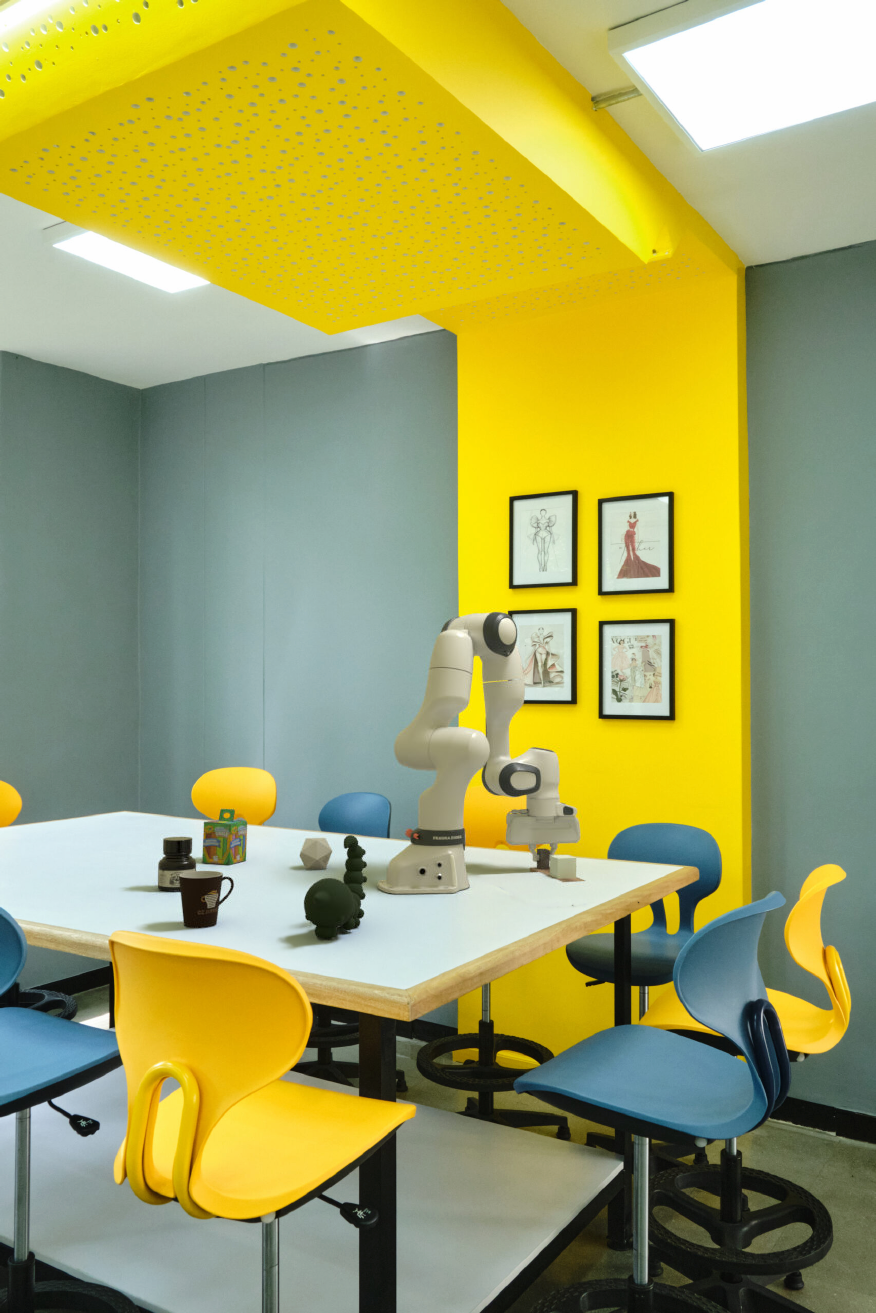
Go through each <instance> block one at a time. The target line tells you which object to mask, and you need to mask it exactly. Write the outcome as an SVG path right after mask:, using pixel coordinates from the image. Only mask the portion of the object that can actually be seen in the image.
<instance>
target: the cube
mask: <svg viewBox="0 0 876 1313" xmlns="http://www.w3.org/2000/svg"><path fill="white" fill-rule="evenodd" d="M550 876H553V877H555V878H557V879H563V878H576V877H577V857H575V856H572V855H570V854H559V855H556V854H554V855H553V856H550ZM550 876H549V877H550ZM555 878H554V879H555ZM557 879H556V880H557Z"/></svg>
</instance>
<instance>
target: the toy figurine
mask: <svg viewBox="0 0 876 1313" xmlns="http://www.w3.org/2000/svg"><path fill="white" fill-rule="evenodd" d="M343 849H345V850H347V851H346V856H347V858H346V860H345V862H344V866H345V872H344V874H343V877H342V881H341V880H339V879H337V878H335V877H334V878H332V877H325V878H322V879H319V880H317V881H316V882H314V883H313V884H311V886H310V887H309V889H308V890H307V892H306V893H305V896H304V900H303V908H304V909H303V910H304V914H305V915H304V918H305V920H306V921H308V922H310V923H311V924H312V925H314V926H315V927H314V931H313V932H314V935H315V936H316V937H317V938H319V939H321V940H333V939H334V938H335V937H336V935H337V933H338V929H337V928H340V927H342V929H344V930H345V931H346V932H349V931H352V930H353V929H354V928H356V929H357V928H358V927H360V926H361V919H362V918H364V916H365V910H364V909H363V908H362V901H363V900H365V898H366V895H367V894H366V893H365V892H364V888H363V886H362V885H363V884H365V883H366V882H368V878H367V876H366V875H364V873H363V872H362V871H363V870H364V869H366V868H367V866H368V864H367V862H366V861H365V860H364V859H363V858H364V856H365V855H366V854H367V851H366V850H365V849H364V848H363V847H362V846H361V845H359V840H358V839H357V837H356V836H354V835H351V834H350V835H346V837H345V838H344V839H343Z"/></svg>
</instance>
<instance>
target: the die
mask: <svg viewBox="0 0 876 1313" xmlns="http://www.w3.org/2000/svg"><path fill="white" fill-rule="evenodd" d="M332 854H333V849H332V847H331V846H330V844H329V842H328V840H327V838H326V837H307V838H305V839H304V841H303V845H302V848H301V850H300V853H299V858H300V860H301V861H302V864H303V866H304V868H305V870H326V869H327V866H328V864H329V861H330V858H331V855H332Z"/></svg>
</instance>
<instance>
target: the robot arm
mask: <svg viewBox="0 0 876 1313" xmlns="http://www.w3.org/2000/svg"><path fill="white" fill-rule="evenodd" d="M517 640H518V628H517V624H516V622H515V621H514V619H513V618H512V616H510V615H509V614H508V613H505V612H500V611H493V612H485V613H484V612H483V613H477V612H476V613H471V614H466V615H462V616H455V617H453V618H450V619H449V620H447V621H446V622H444V624H443V626H442V628H441V631H440V633H439V634H438V636H437V637H436V640H435V643H434V645H433V649H432V653H431V656H430V661H429V668H428V675H427V679H426V680H427V681H426V687H425V692H424V697H423V702H422V703H421V706H420V709H419V710H418V712H417V714H416V715H415V717H414V718H413V720H412V721H411V722H410V723H409V724H408V725H407V726H406V727H405V728H403V729H402V730H401V731H400V732H399V733H398V734H397V736H396V737H395V741H394V744H393V745H394V746H393V750H394V756H395V759H396V761H397V762H398V763H399V764H400V765H401V766H402V767H405V768H406V767H407V768H408V769H412V770H416V771H426V772H427V771H428V772H429V771H430V772H436V777H435V780H434V783H433V784H432V786H429V787H428V788H426V789H425V790H423V792H422V793H420V794H419V798H418V822H417V823H418V827H417V828H415V829H411V828H407V829H406V830H405V832H404V835H405V836H406V837H407V838H409V839H410V840H409V841H410V844H409V845H407V846H406V847H405V848H404V849H403V850H401V851H400V852H398V854H396V855H395V856H394V857H392V859H390V861H389V863H388V867H387V870H386V877H385V878H386V879H381V880H378V881H377V888H378V890H380V891H382V892H385V893H389V894H395V895H396V894H397V895H398V894H399V895H400V894H401V895H402V894H405V895H406V894H452V893H453V894H454V893H457V892H459V891H461V890H466V889H467V888H469V887H470V886H471V885H470V882H469V877H468V873H467V867H466V858H465V851H466V850H465V849H466V829H465V827H464V808H465V797H466V793H467V790H468V788H469V784H470V783H471V781H472V779H473V778H474V776H475V775H476V774H477V773H478V772H479V771H481V769H482V771H481V783H482V785H483V787H484V789H485V790H486V791H487V792H488V793H490V794H492V795H493V796H499V797H500V796H501V797H509V798H519V797H522V796H525V797H526V798H525V800H526V807H525V809H524V808H521V809H516V808H515V809H511V810H510V811H509V812H507V814H506V817H505V818H506V820H505V821H506V832H505V841H506V843H507V844H508V845H510V846H525V845H526V846H528V850H529V851H530V853H531V855H532V861H533V862H535V863H537V862H538V861H540V855H539V854H537V845H549V847H550V849H549V856H553V855H555V853H556V851H557V850H558V844H577V843H578V842H579V841H580V840H581V827H580V820H579V818H578V817H577V816H576V815H577V814H578V808H576V807H575V806H572V805H568V804H566V803H564V802H560V801H561V799H560V793H559V784H560V764H559V757H558V755H557V753H556V752H555V751H554V750H551V749H548V748H541V747H537V746H536V747H534V746H533V747H530V748H528V750H527V751H525V752H524V753H523V754H520V755H519V756H517V757H515V758H511V754H510V732H509V731H510V724H511V722H512V719H513V717H514V716H515V715H516V714H517V712H519V710H521V708H522V707H523V705H524V702H525V694H526V688H525V687H526V686H525V685H526V684H525V676H524V674H525V673H524V668H523V664H522V663H523V662H522V659H521V654H520V651H519V648H518V645H517ZM476 656H477V657H479V658H480V661H481V663H482V664H481V666H482V667H481V670H482V671H481V678H482V689H483V690H482V691H483V698H484V710H485V734H484V733H483V732H482V731H480V730H477V729H475V728H474V729H473V728H469V727H465V726H450V724H451V722H452V720H453V719H454V718H455V717H456V716H457V715H459V714H460V713H462V712H464V711H465V709H467V707H468V705H469V704H470V701H471V700H470V697H471V690H472V683H473V675H474V673H473V672H474V658H475V657H476ZM535 849H536V850H535Z"/></svg>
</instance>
